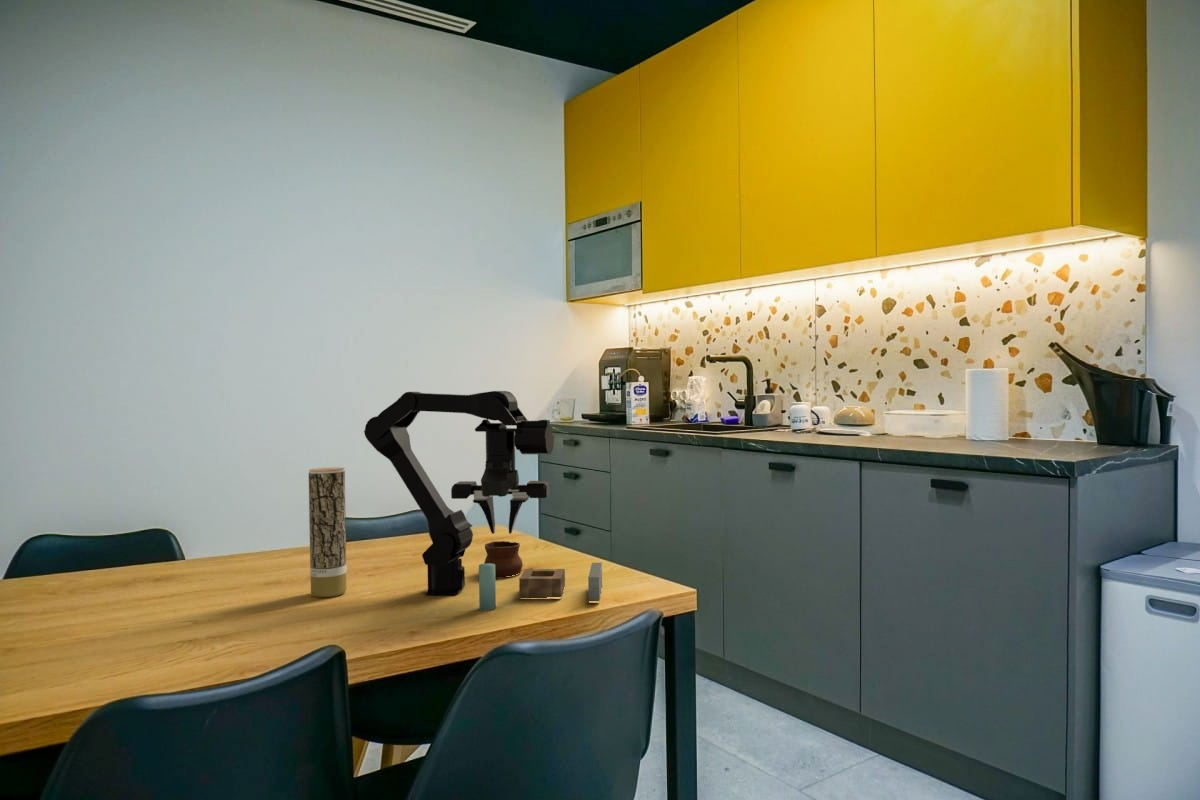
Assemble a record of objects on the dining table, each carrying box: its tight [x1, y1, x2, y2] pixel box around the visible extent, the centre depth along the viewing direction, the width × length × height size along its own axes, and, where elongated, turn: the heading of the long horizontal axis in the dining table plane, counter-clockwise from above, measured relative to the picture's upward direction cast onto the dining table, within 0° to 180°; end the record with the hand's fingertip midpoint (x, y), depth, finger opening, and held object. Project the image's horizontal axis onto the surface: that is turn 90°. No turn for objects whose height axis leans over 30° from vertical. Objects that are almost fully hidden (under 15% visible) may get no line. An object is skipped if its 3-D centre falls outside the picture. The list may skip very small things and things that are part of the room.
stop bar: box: [587, 562, 603, 602], centre depth 149 cm, size 2×12×5 cm, turn 177°
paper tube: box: [308, 467, 348, 598], centre depth 152 cm, size 7×7×25 cm
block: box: [518, 568, 566, 599], centre depth 150 cm, size 8×8×4 cm
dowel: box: [478, 563, 497, 611], centre depth 141 cm, size 3×3×8 cm
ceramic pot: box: [483, 540, 524, 577], centre depth 168 cm, size 18×18×7 cm
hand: (501, 533), depth 151 cm, fingers open, 3 cm apart
